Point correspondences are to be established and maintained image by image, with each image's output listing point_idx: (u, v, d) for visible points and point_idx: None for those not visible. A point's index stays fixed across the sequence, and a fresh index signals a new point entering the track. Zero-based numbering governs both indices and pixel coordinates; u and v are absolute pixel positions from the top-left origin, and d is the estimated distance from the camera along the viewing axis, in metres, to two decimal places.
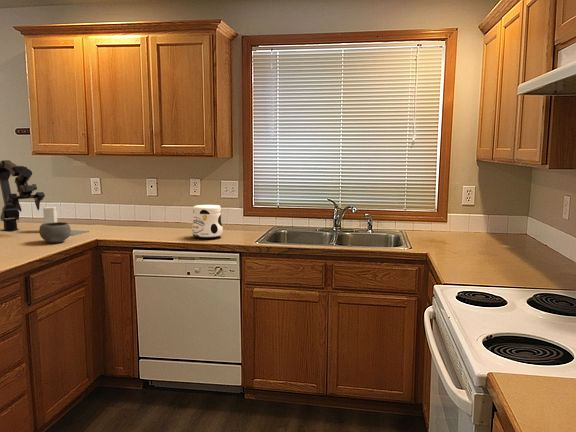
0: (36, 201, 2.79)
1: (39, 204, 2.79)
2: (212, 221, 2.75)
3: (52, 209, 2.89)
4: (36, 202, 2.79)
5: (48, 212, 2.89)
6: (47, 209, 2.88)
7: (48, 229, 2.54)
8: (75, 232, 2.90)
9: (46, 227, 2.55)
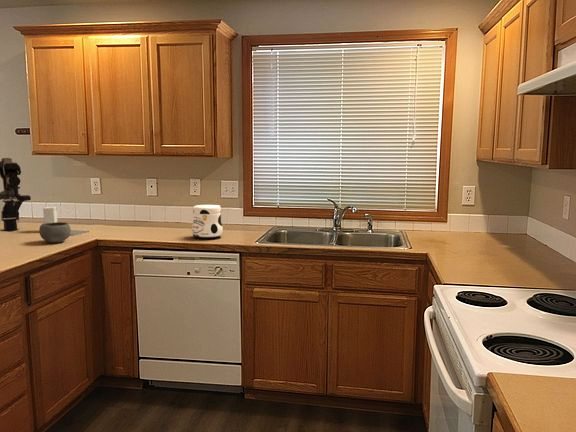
0: None
1: (16, 208, 2.76)
2: (212, 221, 2.75)
3: (52, 209, 2.89)
4: None
5: (48, 212, 2.89)
6: (47, 209, 2.88)
7: (48, 229, 2.54)
8: (75, 232, 2.90)
9: (46, 227, 2.55)
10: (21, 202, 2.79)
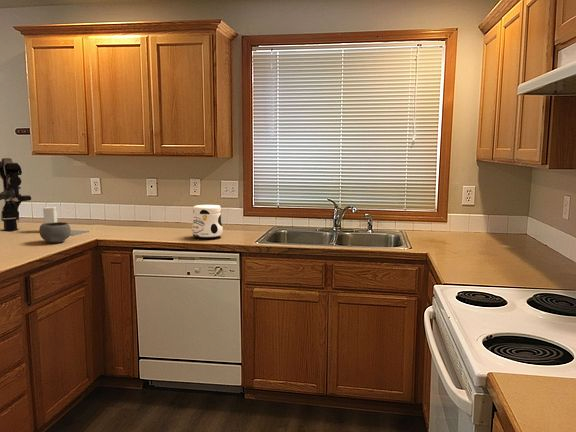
0: None
1: (14, 208, 2.77)
2: (212, 221, 2.75)
3: (52, 209, 2.89)
4: None
5: (48, 212, 2.89)
6: (47, 209, 2.88)
7: (48, 229, 2.54)
8: (75, 232, 2.90)
9: (46, 227, 2.55)
10: (20, 202, 2.79)
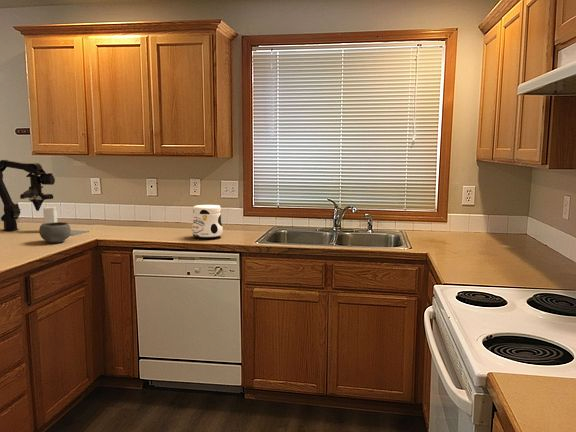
0: None
1: (37, 206, 2.93)
2: (212, 221, 2.75)
3: (52, 209, 2.89)
4: None
5: (48, 212, 2.89)
6: (47, 209, 2.88)
7: (48, 229, 2.54)
8: (75, 232, 2.90)
9: (46, 227, 2.55)
10: (42, 200, 2.95)
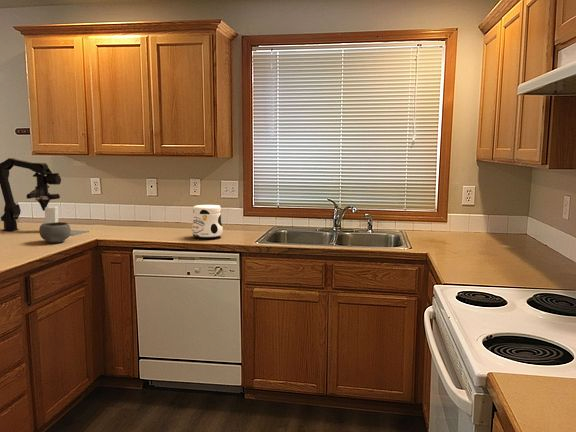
0: None
1: (44, 206, 2.92)
2: (212, 221, 2.75)
3: (54, 209, 2.89)
4: None
5: (49, 212, 2.89)
6: (49, 209, 2.88)
7: (48, 229, 2.54)
8: (75, 232, 2.90)
9: (46, 227, 2.55)
10: (48, 200, 2.94)
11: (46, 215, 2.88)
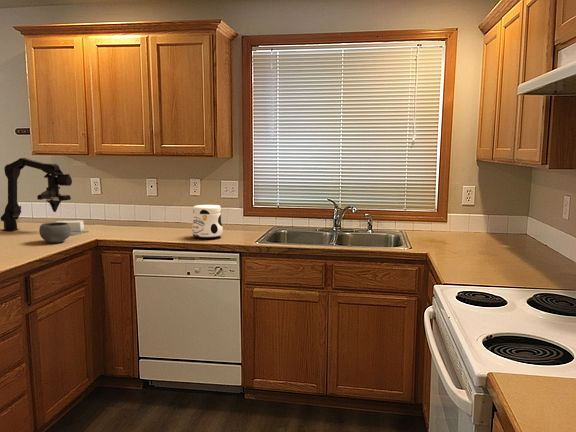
0: None
1: (54, 207, 2.90)
2: (212, 221, 2.75)
3: (79, 230, 2.93)
4: None
5: (75, 226, 2.92)
6: (78, 226, 2.93)
7: (48, 229, 2.54)
8: (75, 232, 2.90)
9: (46, 227, 2.55)
10: (59, 201, 2.93)
11: (72, 223, 2.92)
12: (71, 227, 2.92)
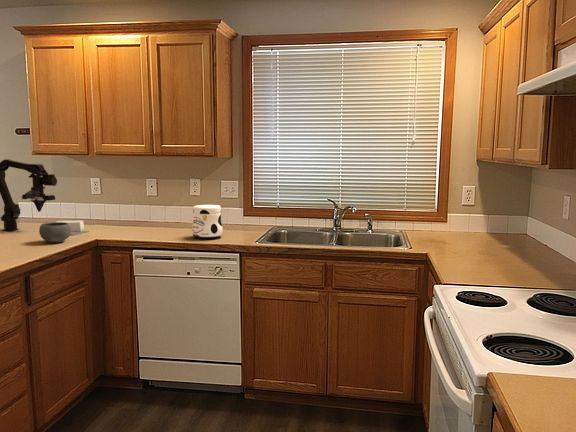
0: None
1: (39, 207, 2.93)
2: (212, 221, 2.75)
3: (79, 230, 2.93)
4: None
5: (75, 226, 2.92)
6: (78, 226, 2.93)
7: (48, 229, 2.54)
8: (75, 232, 2.90)
9: (46, 227, 2.55)
10: (44, 201, 2.95)
11: (72, 223, 2.92)
12: (71, 227, 2.92)
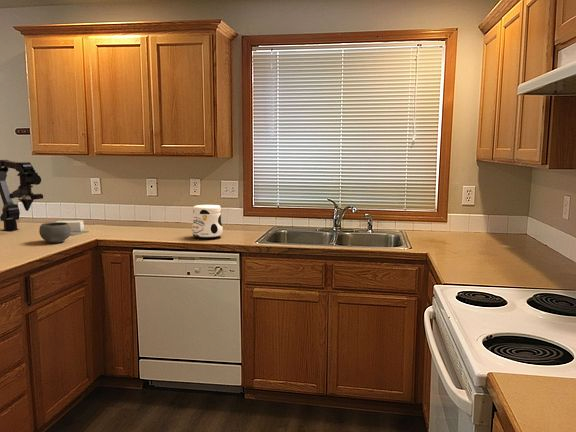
0: None
1: (27, 206, 2.86)
2: (212, 221, 2.75)
3: (79, 230, 2.93)
4: None
5: (75, 226, 2.92)
6: (78, 226, 2.93)
7: (48, 229, 2.54)
8: (75, 232, 2.90)
9: (46, 227, 2.55)
10: (32, 200, 2.89)
11: (72, 223, 2.92)
12: (71, 227, 2.92)
